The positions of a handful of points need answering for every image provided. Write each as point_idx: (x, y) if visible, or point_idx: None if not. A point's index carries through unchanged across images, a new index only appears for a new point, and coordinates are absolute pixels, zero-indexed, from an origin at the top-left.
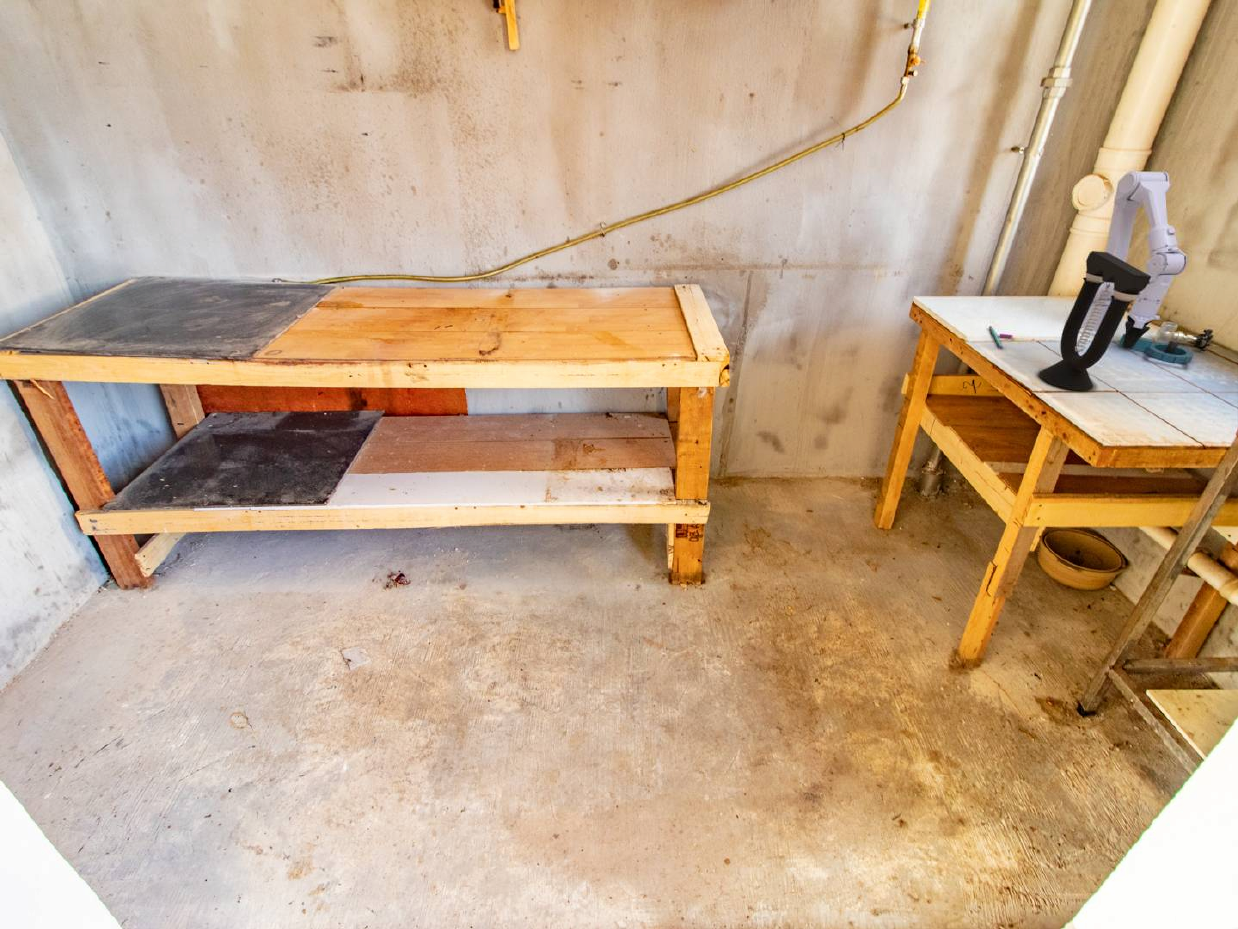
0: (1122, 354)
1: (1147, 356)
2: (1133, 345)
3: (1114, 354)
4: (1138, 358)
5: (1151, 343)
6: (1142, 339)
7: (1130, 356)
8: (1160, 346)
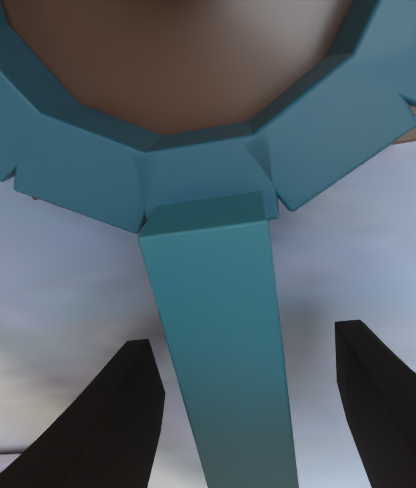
0: (350, 313)
1: (409, 135)
2: (387, 347)
3: (398, 355)
4: (364, 194)
5: (266, 214)
6: (269, 348)
7: (357, 258)
8: (36, 85)
